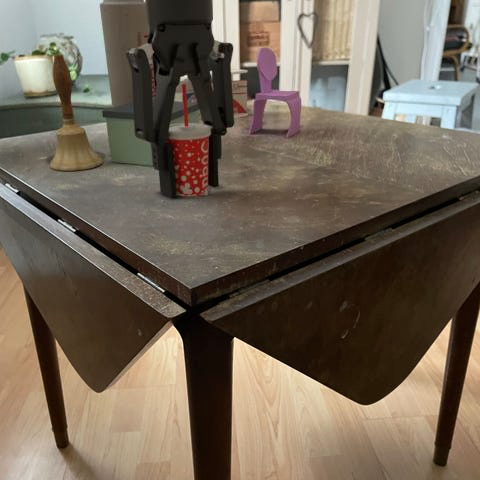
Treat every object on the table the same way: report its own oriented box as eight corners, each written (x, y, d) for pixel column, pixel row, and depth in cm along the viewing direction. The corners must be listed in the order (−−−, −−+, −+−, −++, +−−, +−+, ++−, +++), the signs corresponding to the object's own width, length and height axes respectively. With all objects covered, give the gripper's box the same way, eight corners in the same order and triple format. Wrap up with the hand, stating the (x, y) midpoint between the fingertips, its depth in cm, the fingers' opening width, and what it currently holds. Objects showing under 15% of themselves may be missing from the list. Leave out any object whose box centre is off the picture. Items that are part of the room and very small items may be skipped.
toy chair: (288, 139, 101) (290, 50, 94) (245, 135, 105) (245, 49, 97) (303, 130, 108) (307, 46, 100) (262, 127, 111) (263, 45, 103)
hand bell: (40, 164, 87) (18, 55, 79) (85, 155, 92) (69, 51, 84) (66, 174, 82) (46, 59, 74) (112, 163, 87) (98, 54, 79)
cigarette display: (185, 128, 110) (182, 78, 106) (168, 125, 114) (164, 76, 109) (251, 114, 123) (251, 69, 118) (234, 112, 126) (233, 68, 121)
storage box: (108, 162, 88) (101, 110, 84) (144, 146, 98) (139, 99, 93) (172, 168, 85) (167, 114, 81) (202, 151, 94) (200, 102, 90)
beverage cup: (192, 208, 68) (185, 89, 61) (157, 199, 72) (147, 85, 64) (222, 196, 72) (219, 83, 65) (188, 188, 76) (182, 79, 68)
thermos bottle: (168, 139, 102) (154, -38, 88) (140, 148, 96) (121, -40, 82) (136, 135, 106) (118, -36, 92) (107, 143, 100) (83, -38, 86)
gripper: (116, -18, 52) (141, 212, 64) (265, -17, 62) (262, 182, 74) (83, -16, 57) (111, 197, 69) (225, -16, 67) (229, 170, 79)
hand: (190, 189), depth 71 cm, fingers closed on beverage cup, 6 cm apart
